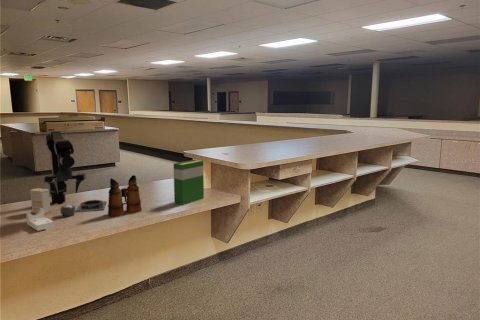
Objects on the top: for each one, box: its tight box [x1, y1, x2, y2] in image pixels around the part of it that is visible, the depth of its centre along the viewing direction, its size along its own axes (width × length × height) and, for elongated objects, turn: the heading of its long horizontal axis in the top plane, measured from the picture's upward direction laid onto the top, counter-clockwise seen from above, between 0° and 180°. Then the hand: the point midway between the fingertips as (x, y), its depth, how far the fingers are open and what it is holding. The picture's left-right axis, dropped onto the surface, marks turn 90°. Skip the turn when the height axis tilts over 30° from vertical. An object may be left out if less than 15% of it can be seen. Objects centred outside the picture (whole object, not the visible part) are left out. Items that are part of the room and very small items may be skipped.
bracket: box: [25, 208, 55, 232], centre depth 163 cm, size 13×7×8 cm, turn 50°
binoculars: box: [107, 174, 142, 218], centre depth 184 cm, size 18×8×20 cm, turn 130°
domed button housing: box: [59, 204, 77, 218], centre depth 180 cm, size 7×6×5 cm
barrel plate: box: [75, 199, 108, 213], centre depth 194 cm, size 14×14×3 cm
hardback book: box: [173, 159, 205, 205], centre depth 207 cm, size 18×7×24 cm, turn 142°
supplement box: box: [29, 187, 52, 215], centre depth 183 cm, size 8×5×13 cm, turn 71°
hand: (67, 193), depth 178 cm, fingers open, 9 cm apart
